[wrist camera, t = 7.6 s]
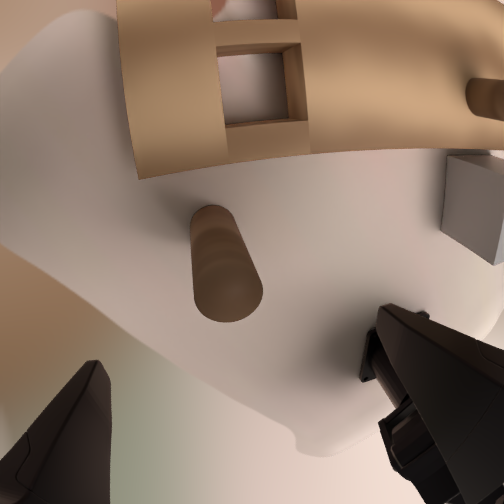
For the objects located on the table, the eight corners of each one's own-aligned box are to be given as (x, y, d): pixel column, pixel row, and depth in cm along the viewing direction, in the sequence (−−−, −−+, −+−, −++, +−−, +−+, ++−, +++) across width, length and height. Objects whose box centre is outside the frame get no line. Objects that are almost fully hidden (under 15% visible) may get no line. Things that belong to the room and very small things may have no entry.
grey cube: (484, 221, 22) (532, 249, 17) (440, 231, 21) (493, 265, 16) (491, 155, 19) (546, 175, 14) (447, 155, 19) (509, 177, 13)
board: (492, 143, 19) (567, 169, 12) (147, 168, 16) (114, 215, 9) (481, 9, 14) (556, 6, 7) (125, -30, 10) (91, -105, 3)
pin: (238, 243, 19) (265, 314, 13) (194, 251, 18) (201, 327, 12) (232, 201, 17) (259, 258, 11) (185, 209, 17) (187, 271, 11)
